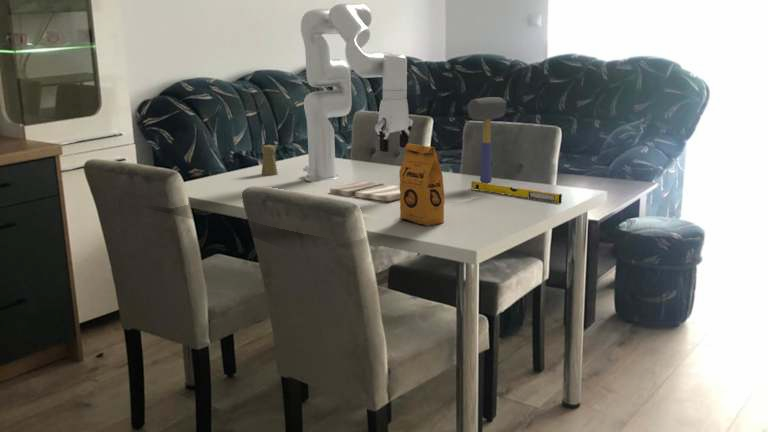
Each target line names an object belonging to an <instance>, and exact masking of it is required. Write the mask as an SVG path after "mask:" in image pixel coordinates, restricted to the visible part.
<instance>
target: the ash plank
mask: <svg viewBox="0 0 768 432" xmlns="http://www.w3.org/2000/svg"><path fill="white" fill-rule="evenodd" d="M355 197H362V198H369V199H375V200H382V201H393V200H396V199H400V185H399V186H398V185H392V184H384V185H382V186H378V187H374V188H370V189H365V190H361V191H357V192H355Z"/></svg>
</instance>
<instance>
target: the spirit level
mask: <svg viewBox="0 0 768 432" xmlns="http://www.w3.org/2000/svg"><path fill="white" fill-rule="evenodd" d="M472 188H473V189H478V190H484V191H491V192H497V193H504V194H511V195H516V196H515V197H517V196H522V197H521V198H523V197H529V198H528V199H530V198H535V199H534V200H536V199H541V200H540V201H543V200H547V201H546V202H549V201H553V202H552V203H556V202H559V203H558V204H560V202H561V203H562V199H563V195H562V193H556V192H555V193H554V192H549V191H548V192H547V191H541V190H534V189H527V188H520V187H519V188H515V187H514V188H513V187H512V186H507V185H506V186H505V185H500V184H499V185H498V184H492V183H490V184H487V183H482V182H481V181H475V180H473V181H471V189H472ZM478 190H477V191H478ZM484 191H483V192H484ZM491 192H490V193H491ZM497 193H496V194H497ZM504 194H503V195H504Z"/></svg>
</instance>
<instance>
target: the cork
mask: <svg viewBox="0 0 768 432" xmlns="http://www.w3.org/2000/svg"><path fill="white" fill-rule="evenodd" d="M261 153H262V163H261V176H262V177H263V176H265V177H266V176H267V177H268V176H269V177H272V176H277V175H278V168H277V167H278V166H277V162H276V156H275V153H276V147H275V146H274V145H272V144H265V145H263V146H262V147H261Z"/></svg>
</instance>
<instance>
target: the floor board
mask: <svg viewBox="0 0 768 432" xmlns="http://www.w3.org/2000/svg"><path fill="white" fill-rule="evenodd" d="M382 185H385V184H384V183H378V182H374V181H373V182H372V181H365V180H361V181H357V182H353V183H348V184H343V185H339V186H335V187H330V188H329V194H331V195H337V196H344V197H348V198H354V199H359V200H365V201H371V202H377V203H382V204H392V203H395V202H400V199H396V200H393V201H382V200H375V199H369V198H362V197H355V192H357V191H361V190H365V189H370V188H374V187H378V186H382Z"/></svg>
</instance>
